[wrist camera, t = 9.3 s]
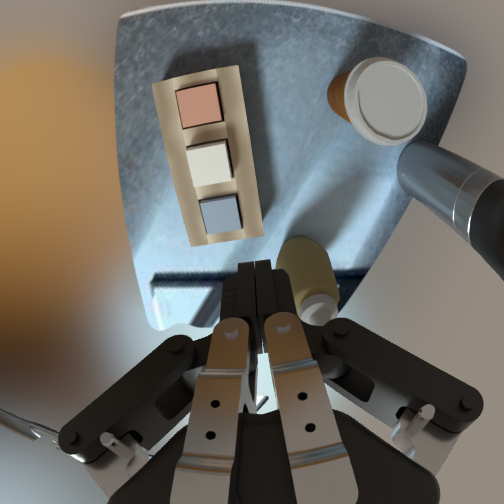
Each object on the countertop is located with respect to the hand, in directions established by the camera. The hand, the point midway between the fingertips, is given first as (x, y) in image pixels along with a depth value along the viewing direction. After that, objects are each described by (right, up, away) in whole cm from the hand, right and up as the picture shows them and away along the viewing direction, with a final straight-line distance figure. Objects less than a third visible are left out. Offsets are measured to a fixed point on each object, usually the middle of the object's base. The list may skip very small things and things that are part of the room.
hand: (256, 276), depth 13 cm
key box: (-5, +14, +22) cm, 27 cm away
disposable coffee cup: (+13, +22, +18) cm, 31 cm away
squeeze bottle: (+7, +1, +31) cm, 32 cm away
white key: (-5, +13, +20) cm, 24 cm away
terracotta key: (-6, +19, +17) cm, 26 cm away
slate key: (-4, +7, +25) cm, 26 cm away
